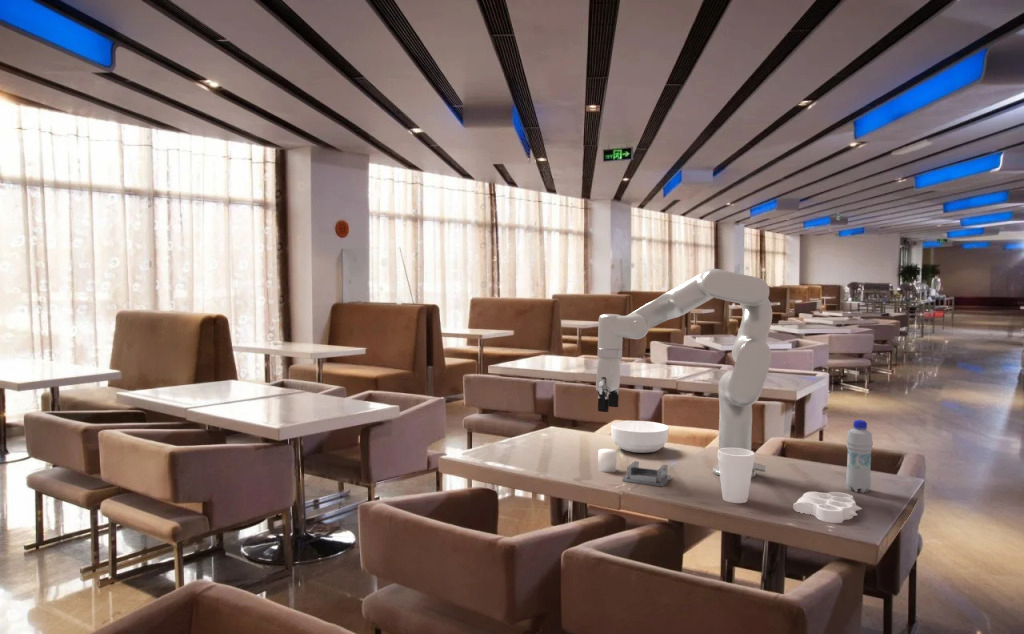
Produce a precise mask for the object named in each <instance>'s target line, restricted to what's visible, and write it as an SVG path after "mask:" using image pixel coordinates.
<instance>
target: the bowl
mask: <svg viewBox="0 0 1024 634" xmlns="http://www.w3.org/2000/svg"><path fill="white" fill-rule="evenodd" d="M610 427H611V428H610V430H611V431H610V433H611V440H612V441H614V443H615V445H616V446H618V447H619V448H621V450H623V451H627V452H630V453H631V452H632V453H641V454H642V453H643V454H644V453H654V452H657V451H658V450H661V448H663V447H664V446H665V444H667V443H668V440H669V431H670V429H669V426H668V425H666V424H664V423H660V422H655V421H648V420H647V421H645V420H623V421H616V422H613V423H612V424H611V425H610Z"/></svg>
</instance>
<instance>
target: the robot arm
mask: <svg viewBox="0 0 1024 634" xmlns="http://www.w3.org/2000/svg"><path fill="white" fill-rule="evenodd" d="M769 297H770V287H769V285H768V283H767V282H766V281H765V280H764V279H762V278H760V277H758V276H757V277H756V276H752V275H747V274H744V273H743V274H742V273H737V272H733V271H728V270H724V269H719V268H710V269H706V270H703V271H702V272H700V273H698V274H696V275H693V276H692V277H691V278H689V279H687V280H686V281H684V282H682V283H680V284H679V285H677V286H675V287H673V288H672V289H670V290H668V291H666V292H665V293H663V294H661V295H660V296H658V297H657V298H655V299H653V300H652V301H649V302H648V303H645V304H644V305H643V306H640V307H639V308H638V309H636V310H634V311H632V312H631V313H629V314H627V315H620V314H616V313H615V314H614V313H603V314H600V315H599V317H598V324H597V325H598V328H597V330H598V331H597V333H598V334H597V359H598V362H597V368H596V379H595V380H596V381H595V389H596V391H597V393H598V394H597V401H598V402H597V411H598V412H602V413H608V412H609V408H611V407H612V408H618V407H619V399H620V398H619V396H620V395H619V393H620V391H619V389H620V383H621V365H620V364H621V360H623V338H624V339H633V340H640V339H642V338H645V336H646V335H648V333H649V331H650V329H652V328H654V327H656V326H659V325H660V324H662V323H664V322H666V321H668V320H672V319H676V318H679V317H681V316H683V315H686V314H688V313H689V312H691V311H693V310H694V309H696V308H698V307H700V306H701V305H703V304H705V303H707V302H709V301H710V300H712V299H719V300H722V301H725V302H730V303H731V302H732V303H737V304H739V305H740V306H741V307H740V308H741V310H742V311H741V312H742V317H741V321H740V326H739V329H738V331H737V335H736V338H735V341H734V342H733V343H734V344H733V346H732V349H731V356H732V360H733V361H734V362H735V364H734V367H733V369H732V370H728V371H726V372H725V373H723V375H722V376H721V377H720V379H719V382H718V388H717V389H718V390H717V391H718V401H719V402H718V403H719V404H718V405H719V406H718V407H719V408H718V410H719V414H718V416H719V418H718V419H719V420H718V450H719V449H721V448H742V449H747V450H750V451H752V434H753V433H752V432H753V431H752V425H753V404H755V403H756V402H757V401H758V400H759V398H760V396H761V394H762V392H763V391H762V390H763V389H764V386H765V382H766V379H767V375H768V373H769V370H770V367H771V363H772V351H771V348H770V346H769V345H768V344H767V341H768V337H769V334H770V330H771V326H772V322H773V321H772V320H773V308H772V305H771V301H770V300H769ZM755 462H756V461H755ZM755 462H754V463H753V469H752V475H751V478H754V477H756V475H757V471H759V472H763V473H766V471H767V465H765V464H763V463H755ZM712 473H713V474H715V475H718V476H720V471H719V462H718V461H717V464H716V465H715V466H713V467H712Z"/></svg>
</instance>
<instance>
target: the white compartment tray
mask: <svg viewBox="0 0 1024 634" xmlns="http://www.w3.org/2000/svg"><path fill="white" fill-rule="evenodd" d="M856 503H857V502H856V500H855V499H854V496H853V495H852V494H849V493H845V492H841V491H830V492H821V491H820V492H819V491H807V492H804V493H803V494H802V496H801V497H799V498H798V499H797V501H796V502H794V503H793V506H792V509H793V510H794V511H795V512H797V513H798V512H800V513H799V514H803V513H805V514H804V515H810V514H811V516H814V517H815V518H816V519H817V520H818V521H822V522H826V523H831V524H843V523H844V522H843V521H845V520H851V519H853V518H854V516H855V517H856V516H858V513H856V511H857V512H858V511H860V510H863V508H862V507H860V506H859V505H857V504H856Z"/></svg>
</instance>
